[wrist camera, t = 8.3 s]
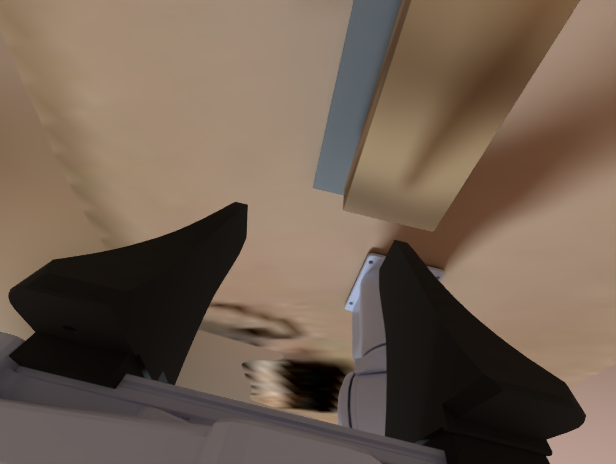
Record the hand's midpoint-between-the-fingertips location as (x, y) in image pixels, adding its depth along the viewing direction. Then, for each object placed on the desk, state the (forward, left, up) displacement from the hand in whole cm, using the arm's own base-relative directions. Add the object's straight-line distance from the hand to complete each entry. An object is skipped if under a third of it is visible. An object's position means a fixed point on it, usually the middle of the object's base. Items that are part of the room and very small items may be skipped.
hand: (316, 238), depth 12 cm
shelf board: (+7, -4, -6) cm, 10 cm away
